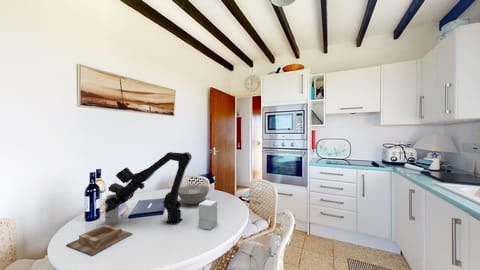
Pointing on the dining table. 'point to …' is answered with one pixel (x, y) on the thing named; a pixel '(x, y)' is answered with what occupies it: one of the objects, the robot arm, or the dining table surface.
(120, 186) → the robot arm
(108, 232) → the socket board
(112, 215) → the energy drink can
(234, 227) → the dining table surface
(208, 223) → the supplement box
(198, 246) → the dining table surface
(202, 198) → the ceramic bowl
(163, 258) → the dining table surface
